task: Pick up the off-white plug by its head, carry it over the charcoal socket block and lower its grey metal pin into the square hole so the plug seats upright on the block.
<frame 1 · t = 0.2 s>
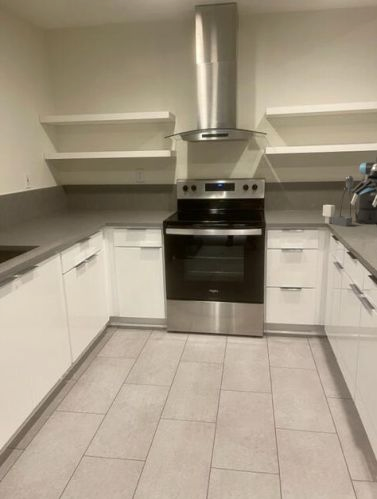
hand: (362, 205, 221), 15 cm above the worktop, tool tilted 35°, fingers open, 13 cm apart
socket block: (341, 224, 246), on the worktop
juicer: (348, 220, 260), on the worktop, touching arm
plug: (328, 223, 254), on the worktop
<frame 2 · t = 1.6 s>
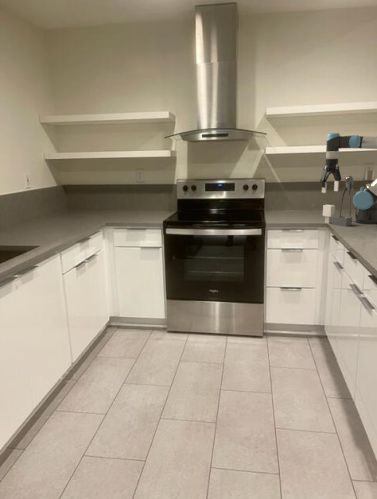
hand: (330, 191, 248), 21 cm above the worktop, tool pointing down, fingers open, 13 cm apart
nothing on the worktop moved.
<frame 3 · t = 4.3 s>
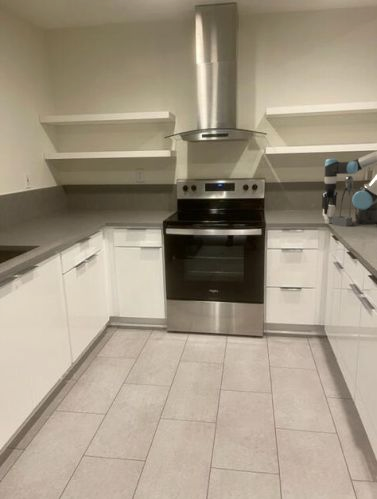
hand: (328, 218, 253), 3 cm above the worktop, tool pointing down, fingers closed on plug, 4 cm apart
plug: (328, 222, 254), on the worktop, touching gripper
everything else where it was.
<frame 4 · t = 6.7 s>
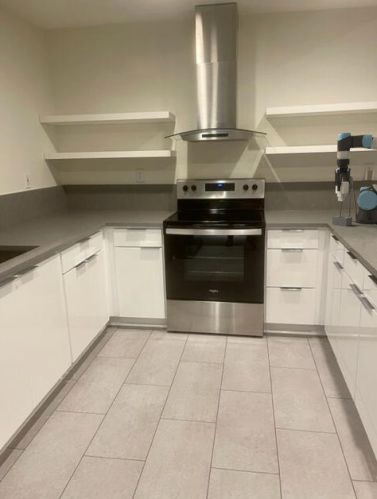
hand: (341, 195, 243), 18 cm above the worktop, tool pointing down, fingers closed on plug, 4 cm apart
plug: (341, 200, 243), point 15 cm above the worktop, touching gripper
everything else where it was.
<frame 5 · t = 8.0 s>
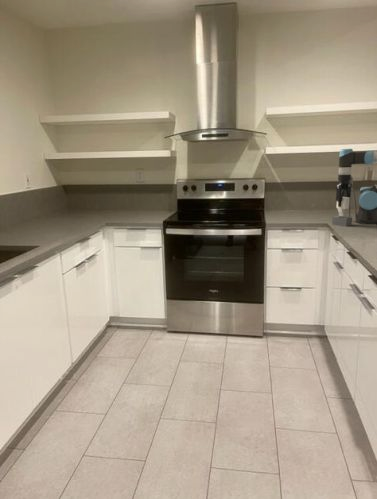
hand: (342, 211, 244), 9 cm above the worktop, tool pointing down, fingers closed on plug, 4 cm apart
plug: (342, 215, 244), point 6 cm above the worktop, touching gripper
everything else where it was.
when the fingers open (7 cm above the worktop, at t = 9.1 s): plug drops 3 cm, resting on socket block.
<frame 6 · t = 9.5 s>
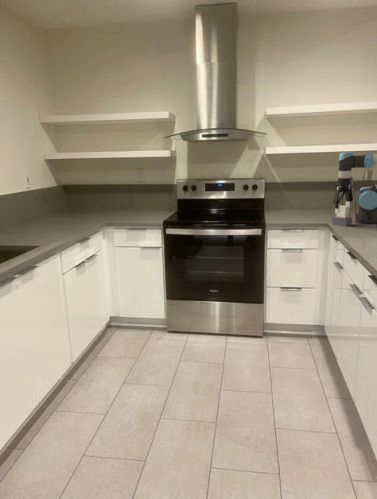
hand: (342, 212, 244), 8 cm above the worktop, tool pointing down, fingers open, 10 cm apart
plug: (342, 224, 246), resting on socket block
everything else where it was.
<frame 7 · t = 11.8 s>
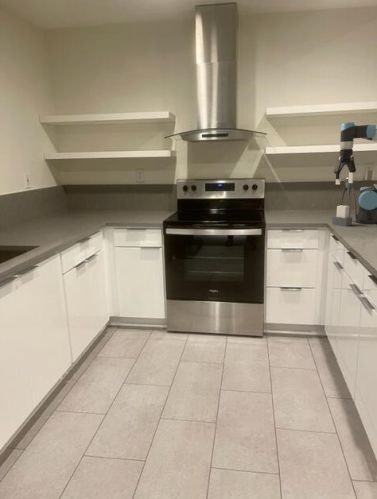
hand: (344, 183, 240), 26 cm above the worktop, tool pointing down, fingers open, 13 cm apart
nothing on the worktop moved.
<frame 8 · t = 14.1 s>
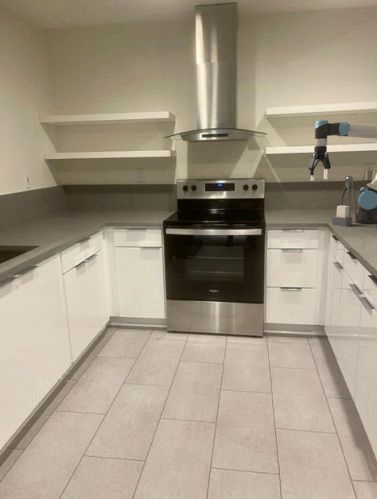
hand: (319, 179, 246), 29 cm above the worktop, tool pointing down, fingers open, 13 cm apart
nothing on the worktop moved.
at the end: plug 0.5 cm off-centre on the socket block, point 0.2 cm above the socket block's base; plug tilted 0°; the gripper is holding nothing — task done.
